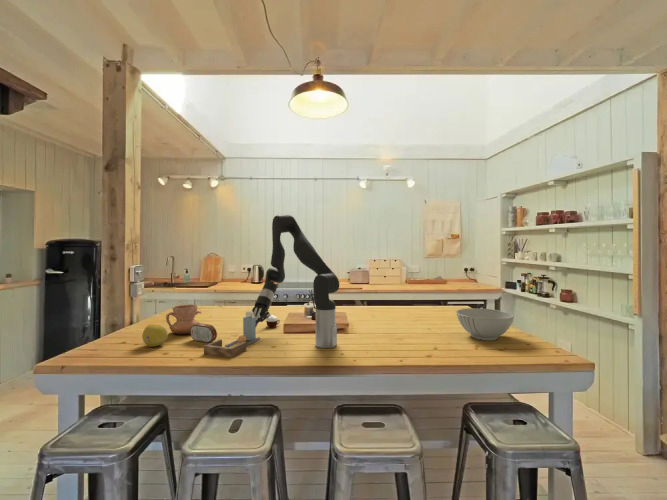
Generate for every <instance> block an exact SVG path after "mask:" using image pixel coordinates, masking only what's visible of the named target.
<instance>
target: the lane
mask: <svg viewBox="0 0 667 500" xmlns="http://www.w3.org/2000/svg"><path fill="white" fill-rule="evenodd" d="M260 340H261V336H257V337H256V339H254V340H252V341H248V342H246V347H248V346H250V345H252V344H253V343H256V342H257V341H260ZM237 343H238V339H236V340H234V341H231V342H230V343H226V344H225V345H224V347H229V348H230V347H232V346H234V345H235V344H236V345H237ZM238 344H239V343H238Z"/></svg>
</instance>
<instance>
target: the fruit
mask: <svg viewBox="0 0 667 500" xmlns="http://www.w3.org/2000/svg"><path fill="white" fill-rule="evenodd" d="M141 336H142V337H141V338H142V341H143V343H144V344H145V345H146V346H147V347H149V348H154V347H158V346H160V345H163V344H165V342H167V341H168V337H169V331H168V330H167V328H166V327H165V326H164V325H161V324H155V323H151V324H148V325H147V326H146V327H145V328H144V330H143V331H142V335H141Z"/></svg>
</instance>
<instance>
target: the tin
mask: <svg viewBox="0 0 667 500" xmlns="http://www.w3.org/2000/svg"><path fill="white" fill-rule="evenodd" d="M190 333H191V334H190V337H191V338H192V339H193V341H196V342H201V343H207V344H210V343H212V342H214V341H217V337H218V332H217V329H216V327H214V326H213V325H212V324H207V323H200V322H199V323H197V324H194V325H193V326H192V327H191V328H190Z"/></svg>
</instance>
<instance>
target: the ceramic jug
mask: <svg viewBox="0 0 667 500" xmlns="http://www.w3.org/2000/svg"><path fill="white" fill-rule="evenodd" d="M198 306H199V305H197V304H194V303H193V304H192V303H191V304H181V305H173V306H172V311H171V312H167V314H166V316H165V321H166V323H167V325H168V326H169V327H168V328H169V330H170V332H171V333H173V334H175V335H189V334H190V335H191V333H190V328H191V327H192V326H193V325H194V324H197V323H200V322H199V321H198V320H195V317H196V315H198V314H202V313H203V311H202V310H198V309H199V307H198ZM170 316H172V317H175V319H176V321H175V322H174V323H173V324H171V321H170Z"/></svg>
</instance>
